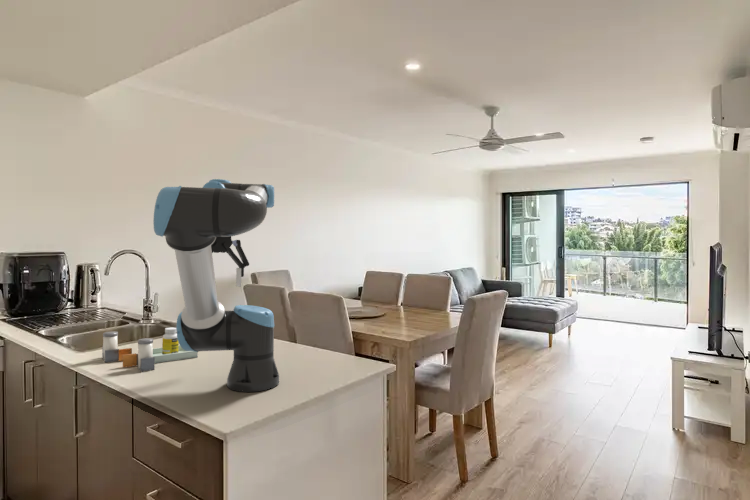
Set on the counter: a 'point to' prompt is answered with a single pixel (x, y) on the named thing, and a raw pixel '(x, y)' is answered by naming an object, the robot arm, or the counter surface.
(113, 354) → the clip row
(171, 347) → the supplement bottle
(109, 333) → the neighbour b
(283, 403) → the counter surface
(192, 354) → the tray
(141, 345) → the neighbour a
